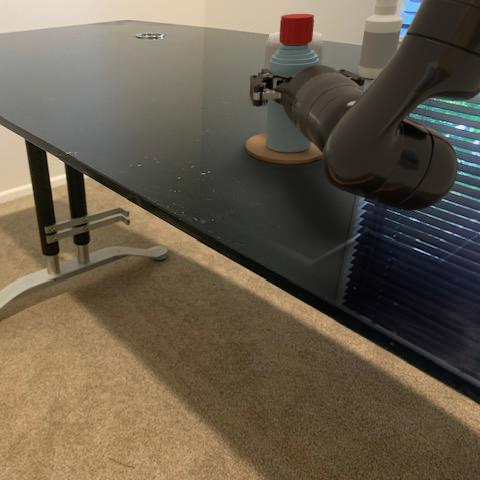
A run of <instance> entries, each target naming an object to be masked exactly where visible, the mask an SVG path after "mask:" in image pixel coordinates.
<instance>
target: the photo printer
mask: <svg viewBox="0 0 480 480" xmlns="http://www.w3.org/2000/svg"><path fill="white" fill-rule="evenodd" d="M279 38H280V30H279V31H275V32H272V33H270V34H268V38H267V41H266V43H265V48H264V62H263V63H264V64H263V69H268V70H269V69H270V59H272V55H274V54H275V52H276V51H278V50H279V48H280V47H282V44H283V43H280V40H279ZM308 46H310V47H311V50H314V52H315V54H317V55H318V59H319V65H323V57H324V56H323V55H324V39H323V34H322V33H320V32H318V31H314V30H313V37H312V41H311V42H310V43H308Z"/></svg>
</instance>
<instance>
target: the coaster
mask: <svg viewBox="0 0 480 480" xmlns="http://www.w3.org/2000/svg"><path fill="white" fill-rule="evenodd" d="M244 148H245V152H246V153H247V154H248V155H249V156H251V157H253V159H257V160H259V161H262V162H267V163H273V164H278V165H279V164H281V165H300V164H301V165H302V164H307V163H313V162H317V161H319V160H322V156H323V153H322V152H321V151H320V150H319V149H318V148H317V147H316V145H315V144H313V143H312V142H311V146H310V147H309V148H308V149H307V150H304V151H300V152H278V151H274V150H271V149H269V148H268V147H267V146H266V132H262V133H258V134H256V135H253V136H251V137H250V138H248V139H247V140H246V142H245V147H244Z"/></svg>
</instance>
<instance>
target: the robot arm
mask: <svg viewBox="0 0 480 480" xmlns="http://www.w3.org/2000/svg"><path fill="white" fill-rule="evenodd" d="M412 18H413V19H412V21H411V22H410V24H409V26H408V28H407V30H406V32H405V35H404V36H403V38H402V40H401V41H400V44H399V45H398V48H397V51H396V52H395V54H394V55H393V56H392V58H391V59H390V60H389V62H388V63H387V64H386V65H385V67H384V68H383V69H382V70H381V72H380V73H379V74H378V75H377V77H376V78H375V79H372V82H371V83H369V85H368V86H367V88H366V89H365V80H366V78H363V77H361V76H359V75H358V74H356V73H354V72H351V71H349V70H347V69H345V68H341V69H338V70H337V69H336V68H333V67H331V66H329V65H324V64H322V65H315V66H311V67H308V68H306V69H304V70H302V71H300V72H299V73H298V74H296V75H290V74H286V73H278V74H274V75H273V74H272V73H271V72H270V71H269V70H268V69H264V68H261V70H260V72H257V74H253V75H249V98H250V100H251V103H252V106H254V107H257V108H258V107H263V105H264V104H265V103H266V102H267V101H268V100H270V99H272V100H273V101H275V102H276V103H278V104H281V105H283V108H284V110H285V113H286V115H287V116H288V118H289V119H290V120H291V121H292V123H293V124H294V125H295V126H296V127H297V128H298V130H299V131H300V132H301V133H302V134H303V135H304V136H305V137H306V138H307V139H308V140H309V141H310V142H312V143H313V144H315V145H316V147H317V148H318V149H319V150H320V151H321V152H322V153H323V156H322V158H321V160H322V163H321V164H322V170H323V171H322V172H323V175H324V177H325V179H326V180H327V182H328V183H329V184H330V185H331V186H332V187H334V188H336V189H337V190H340V191H343V192H346V193H348V194H351V195H354V196H358V197H360V198H363V199H366V200H370V201H372V202H375V203H379V204H382V205H383V206H387V207H389V208H392V209H396V210H400V211H404V212H405V211H406V212H416V211H417V212H418V211H423V210H425V209H428V208H431V207H433V206H435V205H437V204H438V203H441V201H442V200H443V199H444V198H445V197H447V196H448V194H449V193H450V192H451V190H452V188H453V187H454V185H455V182H456V180H457V177H458V171H459V161H458V156H457V152H456V149H455V147H454V146H453V143H452V142H451V141H450V140H449V139H448V138H447V137H446V136H445V135H444V134H442V133H441V132H439V131H438V130H435V129H434V128H431V127H430V126H428V125H427V124H426V125H425V124H423V123H422V122H419V121H417V120H415V119H412V118H411V117H408V116H409V114H411V113H412V112H413V111H414V110H415V109H416V108H417V107H418V106H420V105H422V104H423V103H425V102H426V101H428V100H441V101H446V102H447V101H448V102H461V103H462V102H467V101H470V100H473V99H474V98H476V97H477V96H478V95H479V94H480V0H422V1H421V2H420V5H419V7H418V9H417V10H416V13H415V15H414V16H413V17H412ZM284 81H285V82H284ZM272 82H273V87H272ZM364 89H365V90H364Z"/></svg>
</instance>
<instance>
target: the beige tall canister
mask: <svg viewBox="0 0 480 480" xmlns="http://www.w3.org/2000/svg"><path fill="white" fill-rule="evenodd" d="M398 3H399V0H376V1H375V4H374V12H373V14H371V15H370V16H368V17H367V18H366V19H365V24H364V28H363V29H364V30H363V36H362V42H361V43H362V45H361V51H360V58H359V64H358V65H359V66H358V70H357V71H358V72H357V75H358V76H360V77H362V78H365V79H369V80H374V79H375V78H376V77H377V75H378V74H379V73H380V72H381V70H382V69H383V68H384V67H385V65H386V64H387V63H388V62H389V60H390V59H391V58H392V56H393V55H394V54H395V52H396V51H397V49H398V48H399V42H400V38H401V37H400V36H401V30H402V25H403V18H402V17H401V16H400V15H398V13H397V12H398V11H397V10H398Z"/></svg>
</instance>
